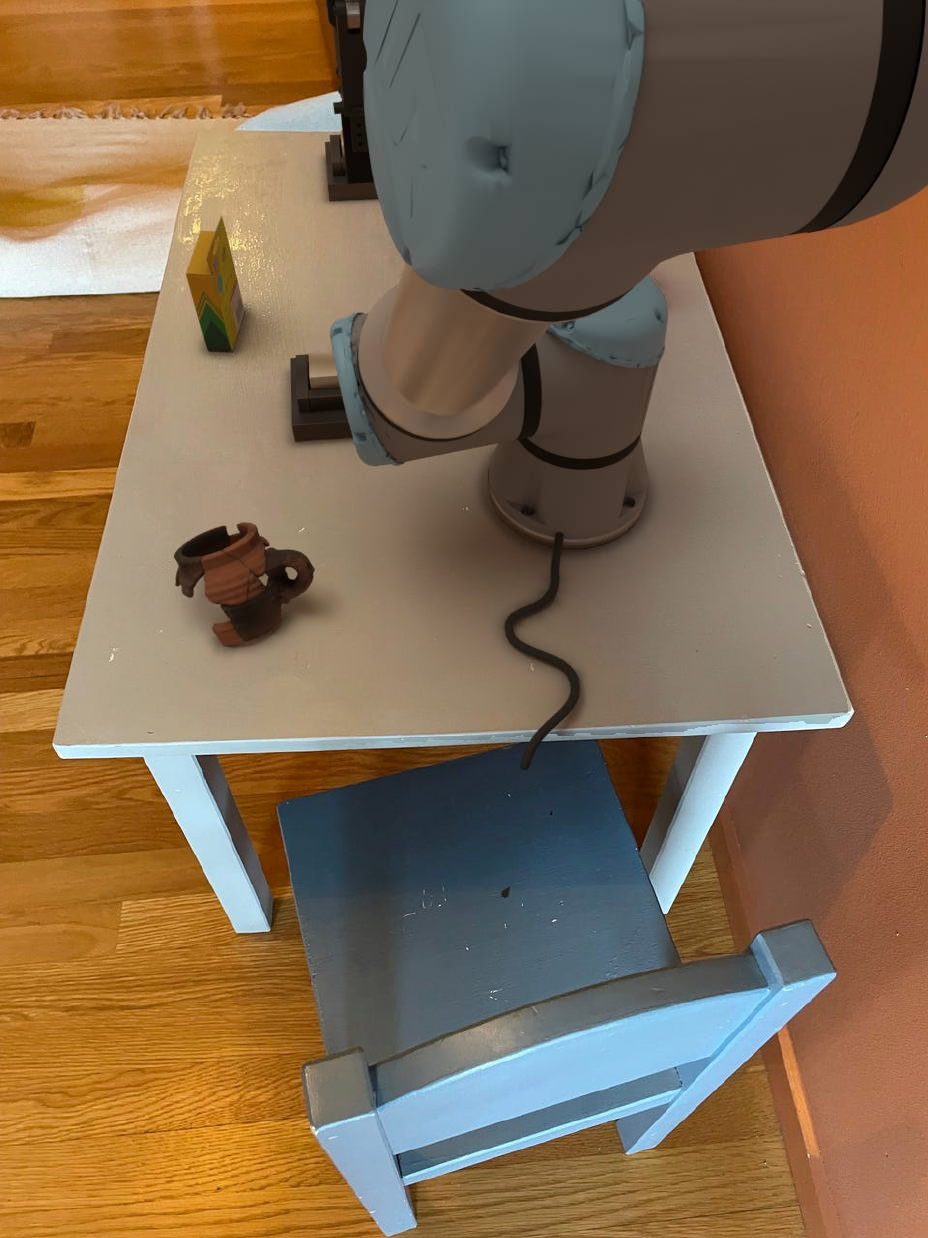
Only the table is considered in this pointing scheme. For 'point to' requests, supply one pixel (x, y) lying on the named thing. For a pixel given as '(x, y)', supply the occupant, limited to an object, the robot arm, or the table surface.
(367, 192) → the far key block
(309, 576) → the pottery mug
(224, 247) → the crayon box
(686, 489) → the table surface
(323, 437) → the near key block
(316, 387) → the near key
